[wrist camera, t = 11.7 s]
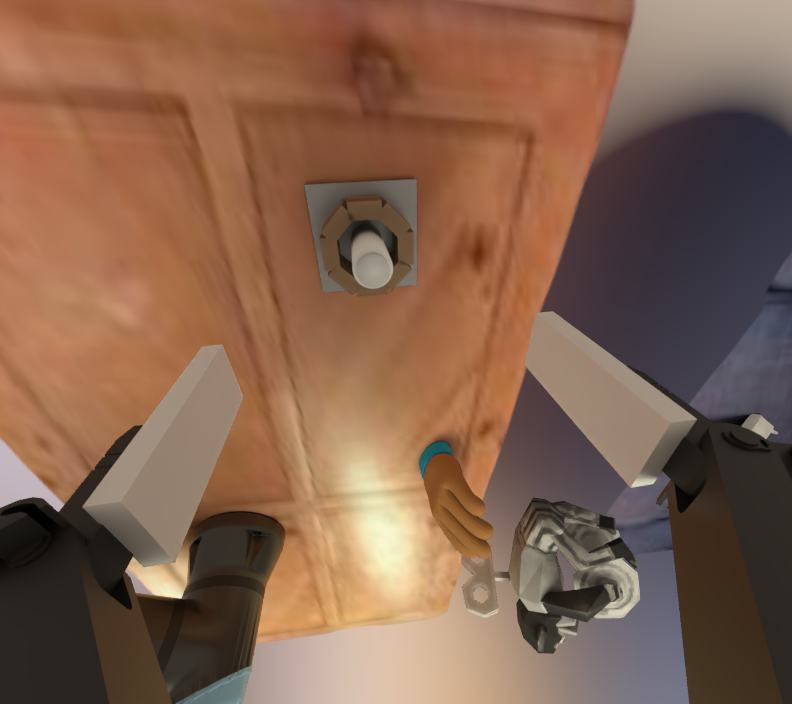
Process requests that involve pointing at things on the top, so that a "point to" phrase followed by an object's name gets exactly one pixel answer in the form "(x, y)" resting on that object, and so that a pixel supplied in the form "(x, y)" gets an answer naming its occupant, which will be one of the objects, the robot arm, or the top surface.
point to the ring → (365, 210)
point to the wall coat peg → (364, 229)
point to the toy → (559, 573)
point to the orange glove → (454, 502)
